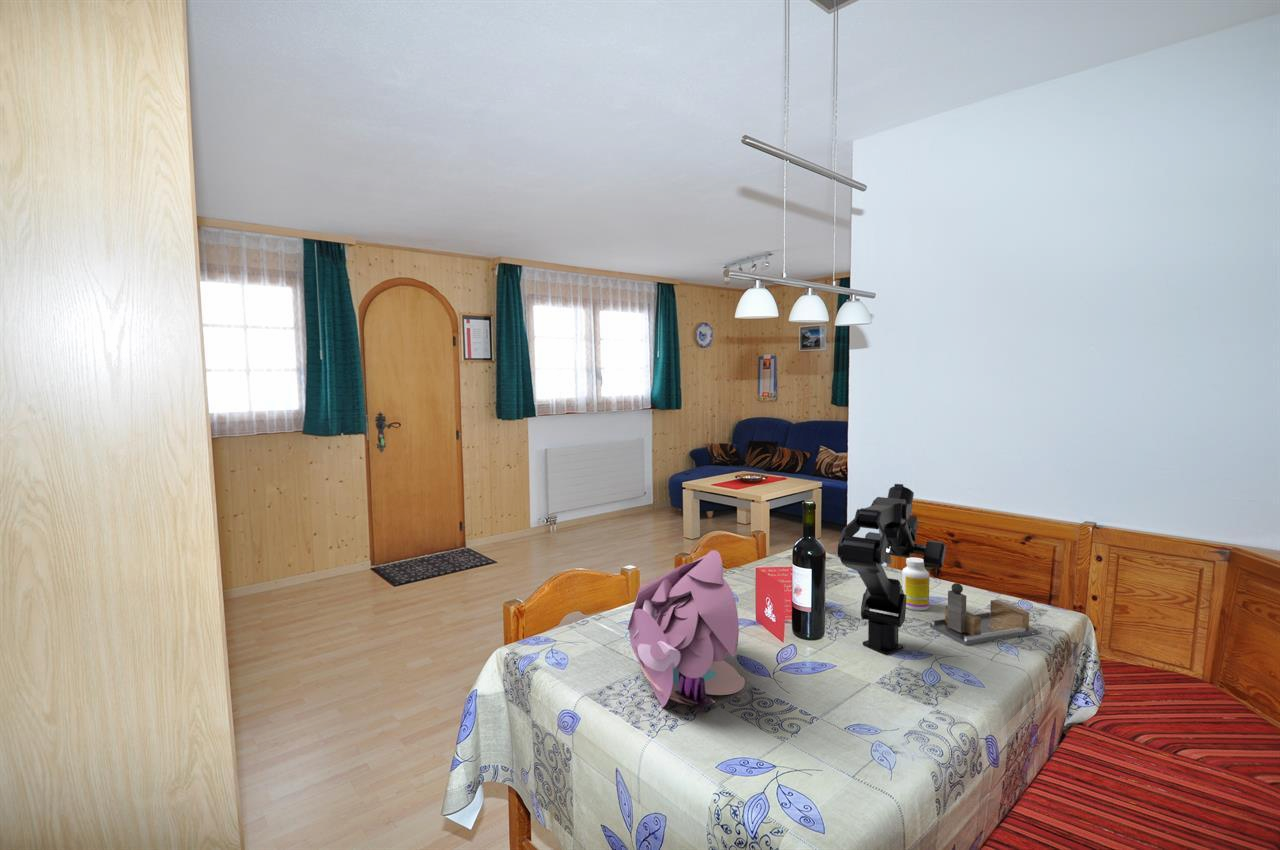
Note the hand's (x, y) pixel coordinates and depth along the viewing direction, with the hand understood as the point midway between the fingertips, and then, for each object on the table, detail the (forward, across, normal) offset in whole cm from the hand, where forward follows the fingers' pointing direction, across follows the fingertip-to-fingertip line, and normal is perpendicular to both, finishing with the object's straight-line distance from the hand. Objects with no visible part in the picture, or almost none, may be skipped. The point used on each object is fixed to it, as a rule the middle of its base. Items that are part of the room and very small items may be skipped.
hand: (909, 566), depth 152 cm
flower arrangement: (-35, +25, +53) cm, 68 cm away
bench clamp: (+9, -17, +9) cm, 21 cm away
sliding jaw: (+4, -13, +12) cm, 18 cm away
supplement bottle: (+14, 0, +5) cm, 14 cm away
